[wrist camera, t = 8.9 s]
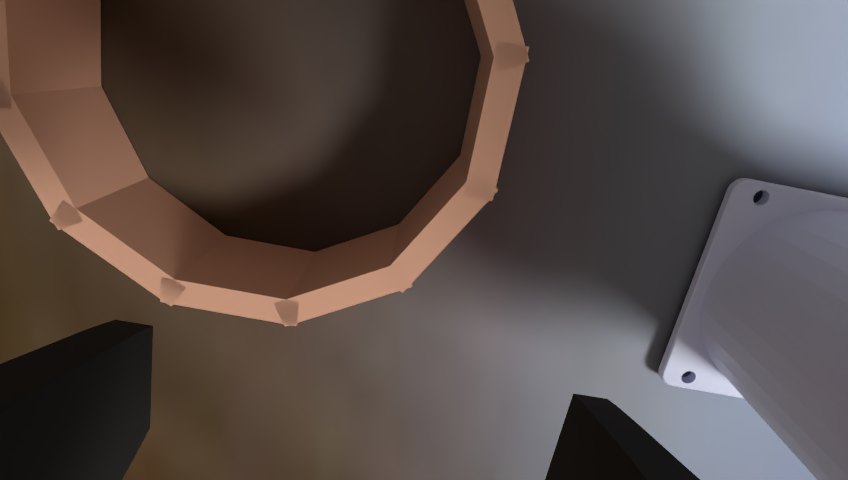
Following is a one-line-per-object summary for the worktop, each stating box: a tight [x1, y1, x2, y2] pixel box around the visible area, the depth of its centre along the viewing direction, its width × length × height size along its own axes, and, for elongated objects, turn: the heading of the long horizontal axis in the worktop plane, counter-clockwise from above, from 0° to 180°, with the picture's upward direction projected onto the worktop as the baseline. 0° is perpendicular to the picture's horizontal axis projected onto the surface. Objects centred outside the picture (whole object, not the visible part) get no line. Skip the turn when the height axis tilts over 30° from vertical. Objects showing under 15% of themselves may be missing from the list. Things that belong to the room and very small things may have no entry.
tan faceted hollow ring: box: [0, 0, 529, 327], centre depth 16 cm, size 14×14×4 cm
